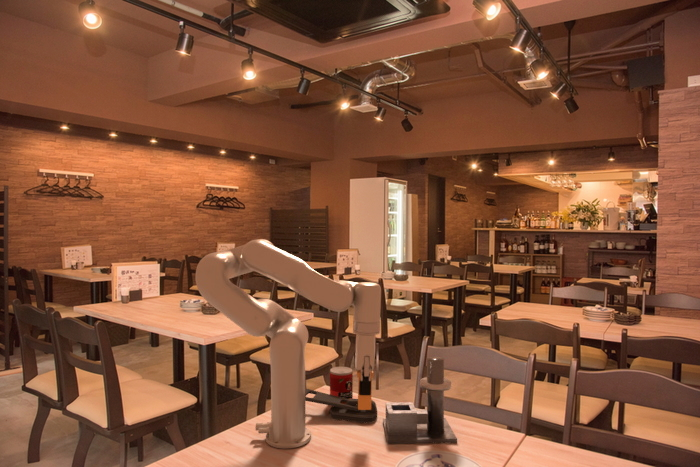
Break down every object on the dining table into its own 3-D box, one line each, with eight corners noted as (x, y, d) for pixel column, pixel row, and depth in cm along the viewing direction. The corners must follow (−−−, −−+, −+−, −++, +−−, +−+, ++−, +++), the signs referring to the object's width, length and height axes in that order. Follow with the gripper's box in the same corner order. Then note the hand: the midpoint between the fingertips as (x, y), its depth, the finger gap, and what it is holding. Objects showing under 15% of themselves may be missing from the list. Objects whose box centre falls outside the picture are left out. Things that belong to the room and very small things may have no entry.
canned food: (340, 408, 151) (340, 375, 151) (325, 401, 157) (325, 369, 157) (357, 402, 156) (357, 370, 156) (341, 396, 162) (341, 365, 162)
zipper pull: (303, 387, 153) (378, 392, 148) (303, 407, 153) (378, 413, 148) (295, 396, 144) (374, 402, 139) (295, 417, 144) (374, 424, 139)
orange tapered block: (356, 410, 127) (357, 372, 127) (356, 405, 130) (357, 369, 130) (372, 410, 127) (373, 372, 127) (372, 406, 130) (372, 369, 130)
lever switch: (387, 444, 126) (387, 366, 126) (382, 422, 140) (382, 352, 140) (457, 443, 127) (457, 365, 126) (445, 421, 141) (445, 352, 140)
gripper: (352, 321, 136) (350, 383, 137) (354, 333, 120) (352, 403, 121) (377, 321, 137) (375, 383, 137) (382, 334, 121) (380, 404, 121)
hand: (364, 392), depth 129 cm, fingers closed on orange tapered block, 2 cm apart
